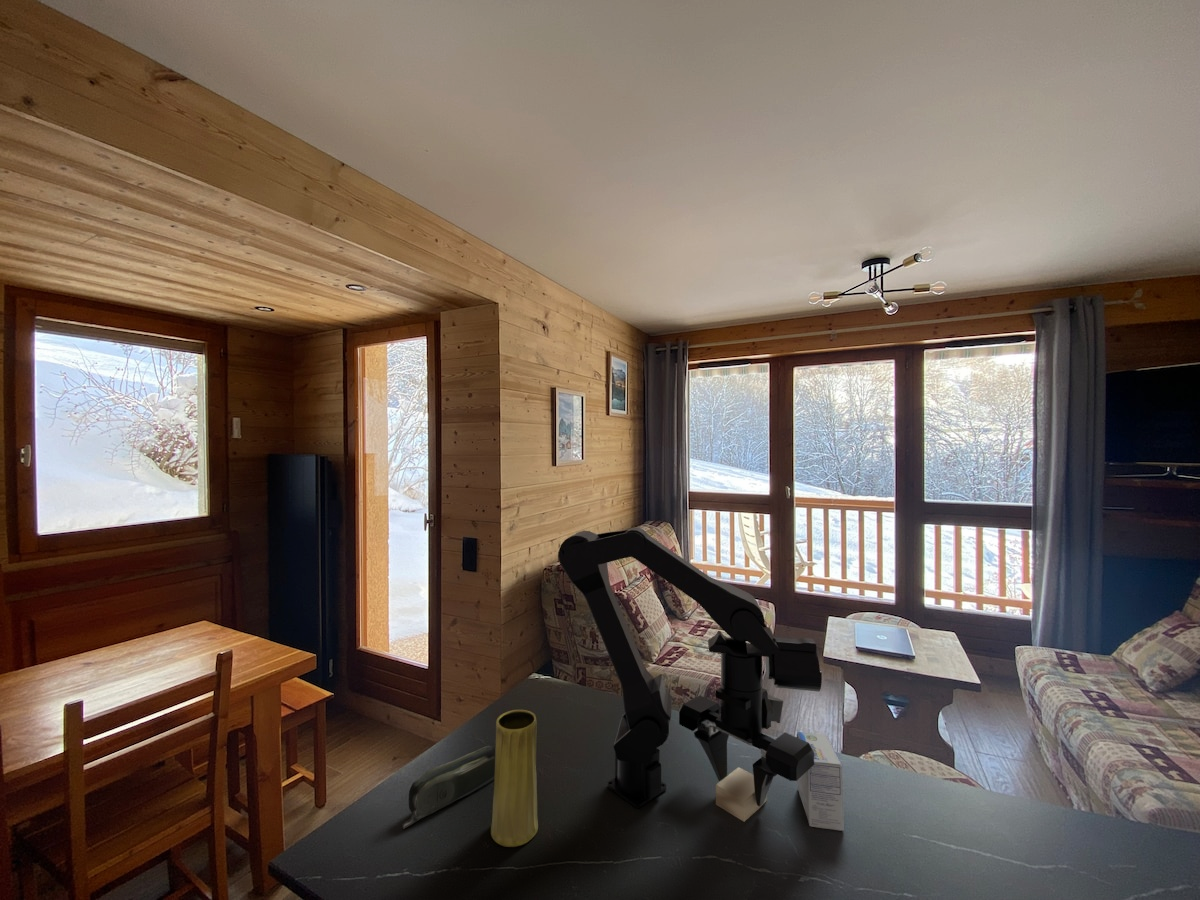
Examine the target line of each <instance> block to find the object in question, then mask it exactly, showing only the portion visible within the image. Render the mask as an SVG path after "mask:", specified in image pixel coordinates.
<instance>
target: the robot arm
mask: <svg viewBox="0 0 1200 900" xmlns="http://www.w3.org/2000/svg"><path fill="white" fill-rule="evenodd" d="M557 558H558V563H559V565H560V566H561V568H562V570H563V572H565V574H566V575H567V578H568V579H569V580H570V582H571V584H573V586H575V588H576V589H577V590H578V591H579V592H580V593H581V594H582V596H583V597H584V599H585V601H586V603H587V606H588V608H589V610H590V613H591V616H592V618H593V620H594V622H595V625H596V628H597V629H598V630H597V631H598V632H599V634H600V637H601V640H602V642H603V645H604V646H605V650H606V652H607V654H608V657H609V659H610V661H611V664H612V667H613V669H614V671H615V673H616V676H617V678H618V680H619V683H620V686H621V690H622V691H621V692H622V693H621V694H622V701H623V708H624V713H623V714H622V715H621V719H620V721H619V726H618V729H617V734H616V736H615V740H614V744H613V751H614V777H613V778H611V779H610V780H608V781H607V782H606V784H607V785H606V787H607V788H608V789H610V790H611V791H613V792H614V793H616V794H617V795H618V796H619V797H621V798H622V799H623V800H625V801H626V802H627V803H629V804H631V805H632V806H633V807H635V808H636V809H637V808H641V807H643V806H644V805H645V804H647V803H649V801H651V800H654V798H655V797H657V796H658V795H660V794H662V793H663V792H665V791H666V790H667V784H666V783H665V782H664V781H662V763H661V761H660V757H661V756H660V755H661V754H660V753H661V752H660V750H661V749H659V748H658V747H661V746H662V745H664V743H665V742H666V741H667V740H668V737H669V735H670V728H671V727H670V725H671V724H670V723H671V718H672V708H673V707H672V705H673V696H672V695H671V694H670V693H669V691H668V689H667V687H666V684H665V680H664V677H663V676H664V675H663V674H662V673H661V674H658V675H657V676H655V677H654V676H653V675H652V674H651V673H650V671H648V670H647V668H646V666H645V664H644V661H643V659H642V656H641V654H640V652H639V650H638V647H637V644H636V643H635V640H634V638H633V635H632V633H631V631H630V628H629V626H628V622H627V621H626V619H625V617H624V614H623V612H622V608H621V607H620V604H619V602H618V600H617V596H616V594H615V592H614V590H613V587H612V586H611V583H610V582H611V581H610V576H609V567H608V566H609V565H608V563H611V562H615V561H619V560H623V559H627V558H633V559H635V560H636V561H637V562H639V563H640V564H642V565H643V566H645V567H646V568H648V569H649V570H651V571H652V572H653V573H654V574H657V576H659V577H660V578H662V579H663V580H664V581H665V582H668V583H669V584H670V585H672V586H673V587H675V588H676V589H677V590H679V591H681V592H682V593H683V594H684V595H686V596H687V597H689V598H691V599H692V600H693V601H695V602H696V603H697V604H698V605H700V606H701V608H702V609H703V610H704V611H705V612H706V614H707V615H709V617H710V618H711V619H712V621H714V622H715V624H716V625H718V626H719V628H721V630H723V631H724V632H725V634H727V635H728V637H727V636H726V635H724V634H723V632H722V631H721V630H718V631H717V632H716V633H715V635H713V636H712V637H711V638H709V639H708V641H707V645H708V646H707V647H708V651H709V652H710V653H712V654H713V653H714V654H715V653H716V654H720V687H718V688H717V689H716V690H715V698H716V699H719V700H720V704H719V703H718V702H716V701H714V700H711V699H709V698H706V697H704V696H702V695H698V696H696V697H694V698H692V699H690V700H688V701H686V702H685V703H683V704H681V706H680V707H679V710H678V725H680V726H681V727H683V728H686V729H687V730H690V731H691V732H693V736H694V738H695V739H697V740H698V741H699V743H700V745H701V747H702V749H703V751H704V753H705V754H706V756H707V759H708V760H709V763H710V765H711V766H712V769H713V771H714V774H715V776H716V778H717V781H718V783H719V782H720V781H721V780H723V779H724V778H725V777H726V776H728V740H729V737H732V738H734V739H736V740H739V741H741V742H742V743H745V744H746V745H748V746H752V747H755V748H757V749H759V750H760V754H761V755H760V758H759V759H757V760H756V761H754V762H753V763H752V774H753V776H754V789H755V798H756V803H757V806H759V807H760V806H761V805H762V804H763V803H764V800H765V798H766V799H767V795H768V792H769V789H770V788H771V785H772V782H773V780H774V777H776V776H777V775H779V776H780V777H782V778H784V779H786V780H787V781H790V782H794V781H795V782H797V780H798V779H799V778H800V777H801V776H802V775H803V774H805V773H806V772H807V771H808V770H809V769H810V768H811V767H812V766H813V765H814V751H813V749H812V747H811V745H810V744H809V743H808V742H806V741H803V740H801V739H799V738H797V736H793V735H792V734H789V733H787V732H783V733H782V734H781V735H779V736H778V737H777V736H776V737H775V736H773V737H771V736H769V735H766V734H764V733H763V729H765V730H768V729H770V728H771V727H772V722H775V723H776V724H781V718H782V712H783V707H784V700H782V699H780V698H778V697H775V696H772V695H770V694H769V693H768V690H767V689H765V688H763V657H764V664H765V676H766V678H767V680H772V681H773V686H775V688H777V689H785V690H787V689H788V690H797V691H798V690H799V691H808V692H820V691H821V689H822V683H823V682H822V681H823V680H822V679H823V676H822V675H823V674H822V671H821V668H820V662H819V656H818V652H817V643H816V642H815V640H814V639H813V638H809V637H800V638H790V637H777V636H774V634H773V631H772V629H771V628H770V627H769V626H768V625H766V620H765V617H764V613H763V611H762V609H761V607H760V604H759V603H758V600H757V599H756V597H754V596H753V595H752V594H751V593H749V592H747V591H745V590H743V589H740V588H739V587H737V586H734V585H732V584H730V583H728V582H725V581H721V580H718V579H716V578H713V577H712V576H710V575H708V574H707V573H705V572H704V571H702V570H701V569H699V568H697V567H696V565H693V564H692V563H690V562H689V561H688V560H686V559H684V558H683V557H681V556H680V555H679V554H677V553H676V552H674V551H673V550H671V549H670V548H668V547H667V546H665V545H664V544H662V543H661V542H659V541H658V540H657V539H656V538H654V537H652V536H651V535H650V534H648V533H647V532H646V530H644V529H643V528H641V527H636V526H635V527H631V528H628V529H623V530H616V531H615V530H614V531H608V532H603V533H598V534H597V533H595V532H593V531H590V530H581V531H577V532H576V533H574V534H572V535H571V536H569V537H567V538H566V539H564V541H563V542H562V543H561V545H560V547H559V549H558V552H557ZM764 804H765V803H764ZM764 804H763V805H764ZM763 805H762V806H763ZM762 806H761V807H762ZM761 807H760V808H761Z"/></svg>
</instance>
